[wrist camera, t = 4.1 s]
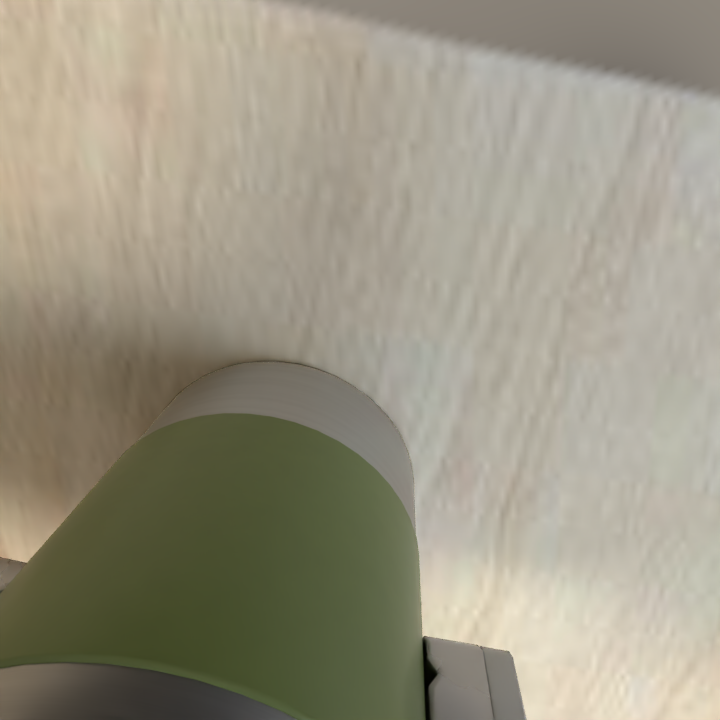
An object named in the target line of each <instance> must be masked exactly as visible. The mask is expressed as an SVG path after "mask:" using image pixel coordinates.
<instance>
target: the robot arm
mask: <svg viewBox="0 0 720 720" xmlns="http://www.w3.org/2000/svg"><path fill="white" fill-rule="evenodd" d="M26 564H27V563H25V562H20V561H16V560H11V559H6V558H2V557H0V593H1V592H2V591H3V590H4V589H5V588H6V587H7V585H8V584H9V583H10V582H11V581H12V580H13V579H14V577H15V576H16V575H17V574H18V573H19V572H20V571H21V569H22V568H23V567H24V566H25V565H26ZM422 641H423V665H424V689H425V714H426V720H526V715H525V711H524V706H523V702H522V697H521V692H520V688H519V683H518V679H517V674H516V670H515V665H514V661H513V657H512V655H511V654H510V652H509V651H504V650H498V649H493V648H487V647H482V646H480V647H479V646H478V645H474V644H468V643H462V642H456V641H451V640H445V639H439V638H433V637H427V636H424V637H423V638H422Z"/></svg>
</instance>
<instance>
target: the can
mask: <svg viewBox="0 0 720 720" xmlns="http://www.w3.org/2000/svg"><path fill="white" fill-rule="evenodd" d="M0 720H426V714H425V689H424V665H423V641H422V616H421V592H420V568H419V551H418V545H417V538H416V528H415V499H414V477H413V470H412V464H411V461H410V457H409V454H408V451H407V448H406V446H405V444H404V442H403V440H402V437H401V435H400V434H399V432H398V431H397V429H396V427H395V426H394V424H393V423H392V421H391V420H390V419H389V418H388V417H387V415H386V414H385V413H384V412H383V411H382V410H381V409H380V407H379V406H378V405H376V404H375V403H374V402H373V401H372V400H371V399H370V398H368V397H367V396H366V395H365V394H364V393H362V392H361V391H359V390H358V389H356V388H355V387H353V386H352V385H350V384H349V383H347V382H345V381H343V380H341V379H339V378H337V377H335V376H333V375H331V374H328V373H326V372H323V371H320V370H318V369H315V368H311V367H307V366H303V365H299V364H293V363H285V362H250V363H242V364H237V365H233V366H229V367H225V368H222V369H219V370H217V371H214V372H212V373H209V374H207V375H205V376H203V377H202V378H200V379H198V380H196V381H195V382H193V383H191V384H190V385H189V386H188V387H186V388H185V389H184V390H183V391H181V392H180V393H179V394H178V395H177V396H176V397H175V398H174V400H173V401H172V402H171V403H170V404H169V405H168V406H167V407H166V409H165V410H164V411H163V412H162V413H161V414H160V415H159V417H158V418H157V419H156V420H155V421H154V422H153V424H152V425H151V426H150V427H149V428H148V429H147V430H146V432H145V433H144V434H143V435H142V436H141V437H140V439H139V440H138V441H137V442H136V443H135V444H134V445H133V446H131V447H130V448H129V449H128V450H126V451H125V452H124V454H123V455H122V456H121V457H120V458H119V459H118V460H117V461H116V462H115V463H114V465H113V466H112V467H111V468H110V469H109V470H108V471H107V472H106V474H105V475H104V476H103V477H102V478H101V479H100V480H99V482H98V483H97V484H96V485H95V486H94V487H93V488H92V490H91V491H90V492H89V493H88V494H87V495H86V496H85V498H84V499H83V500H82V501H81V502H80V503H79V504H78V506H77V507H76V508H75V509H74V510H73V511H72V512H71V514H70V515H69V516H68V517H67V518H66V519H65V520H64V522H63V523H62V524H61V525H60V526H59V527H58V528H57V530H56V531H55V532H54V533H53V534H52V535H51V536H50V538H49V539H48V540H47V541H46V542H45V543H44V544H43V545H42V547H41V548H40V549H39V550H38V551H37V552H36V553H35V555H34V556H33V557H32V558H31V559H30V560H29V561H28V563H27V564H26V565H25V566H24V567H23V568H22V569H21V571H20V572H19V573H18V574H17V575H16V576H15V577H14V579H13V580H12V581H11V582H10V583H9V584H8V585H7V587H6V588H5V589H4V590H3V591H2V592H1V593H0Z"/></svg>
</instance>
